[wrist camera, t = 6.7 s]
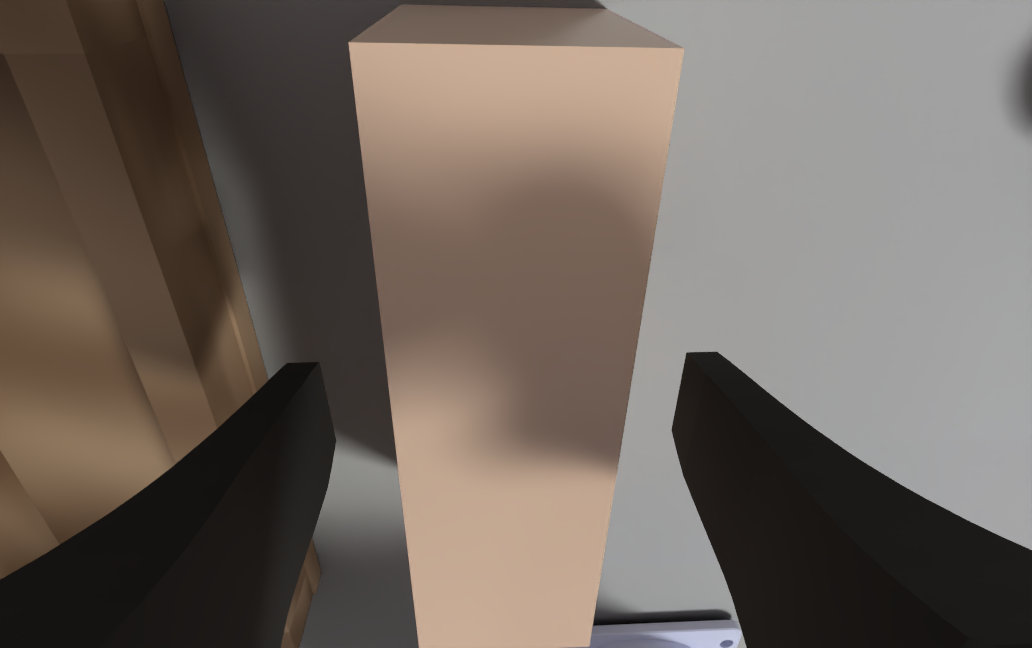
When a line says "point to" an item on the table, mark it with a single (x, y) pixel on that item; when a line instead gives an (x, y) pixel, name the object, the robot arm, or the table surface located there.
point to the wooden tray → (109, 275)
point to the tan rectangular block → (510, 295)
